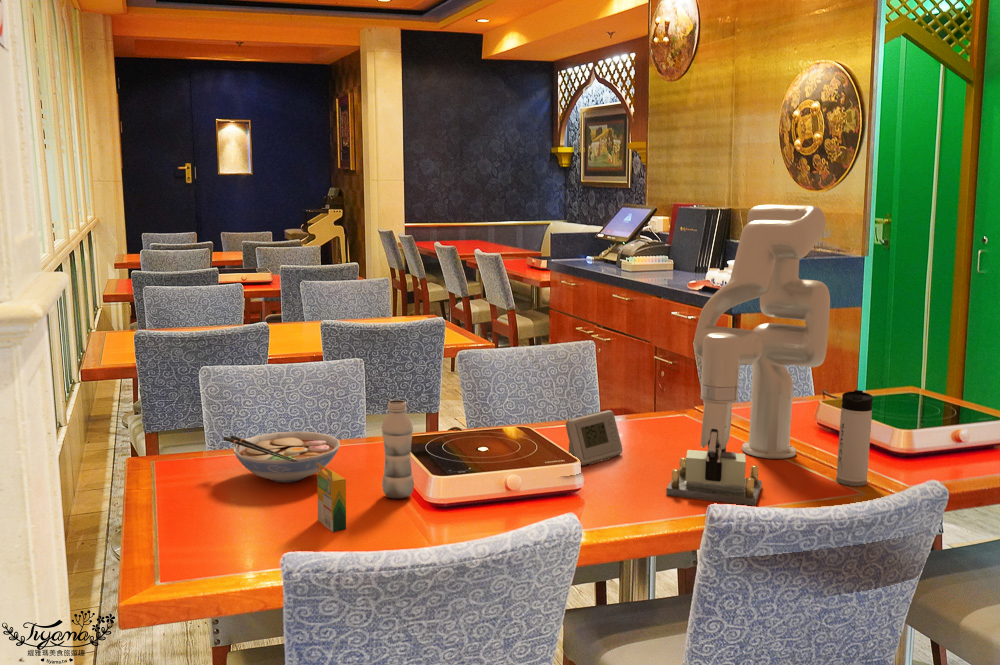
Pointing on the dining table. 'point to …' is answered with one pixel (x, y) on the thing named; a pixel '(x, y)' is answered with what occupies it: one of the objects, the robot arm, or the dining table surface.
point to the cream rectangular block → (730, 467)
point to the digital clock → (594, 437)
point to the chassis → (715, 488)
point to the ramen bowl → (285, 454)
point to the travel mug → (854, 438)
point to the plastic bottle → (397, 451)
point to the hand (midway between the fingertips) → (715, 474)
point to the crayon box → (331, 499)
